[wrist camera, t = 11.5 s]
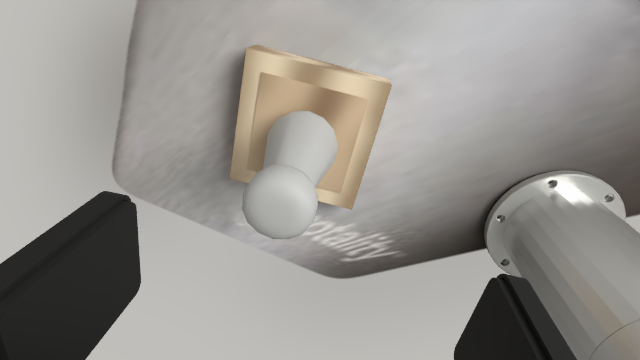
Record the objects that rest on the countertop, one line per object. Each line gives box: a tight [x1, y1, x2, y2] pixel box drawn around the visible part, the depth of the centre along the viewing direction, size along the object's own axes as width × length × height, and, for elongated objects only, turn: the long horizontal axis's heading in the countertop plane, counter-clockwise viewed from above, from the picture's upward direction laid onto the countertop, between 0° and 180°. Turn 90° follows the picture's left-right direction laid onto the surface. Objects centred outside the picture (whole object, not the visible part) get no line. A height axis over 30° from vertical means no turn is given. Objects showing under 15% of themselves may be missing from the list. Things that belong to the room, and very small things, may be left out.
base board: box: [229, 45, 392, 209], centre depth 32 cm, size 12×12×3 cm
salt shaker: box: [242, 111, 338, 239], centre depth 25 cm, size 6×6×13 cm
